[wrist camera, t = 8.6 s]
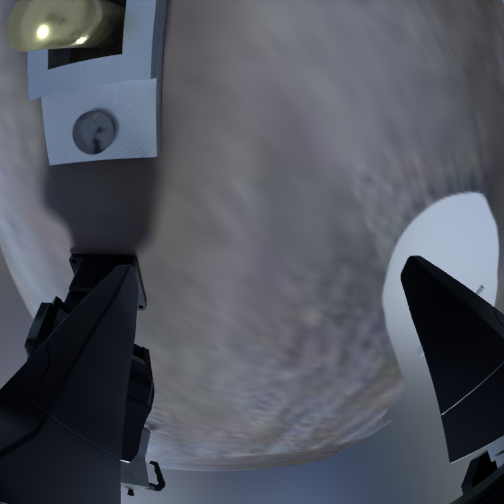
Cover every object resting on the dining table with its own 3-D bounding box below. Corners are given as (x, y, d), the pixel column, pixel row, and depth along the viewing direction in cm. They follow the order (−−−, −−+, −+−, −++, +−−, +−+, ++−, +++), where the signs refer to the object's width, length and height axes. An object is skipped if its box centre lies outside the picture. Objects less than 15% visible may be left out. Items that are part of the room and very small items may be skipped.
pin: (126, 43, 12) (63, 39, 6) (81, 51, 12) (4, 61, 6) (130, -1, 10) (72, -30, 4) (84, 9, 10) (10, -3, 4)
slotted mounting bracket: (161, 149, 17) (149, 169, 14) (59, 157, 16) (34, 178, 13) (183, -87, 6) (177, -110, 3) (70, -62, 5) (47, -74, 2)
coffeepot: (103, 425, 52) (98, 489, 38) (113, 419, 49) (108, 491, 34) (157, 440, 60) (157, 499, 46) (173, 434, 56) (174, 501, 42)
